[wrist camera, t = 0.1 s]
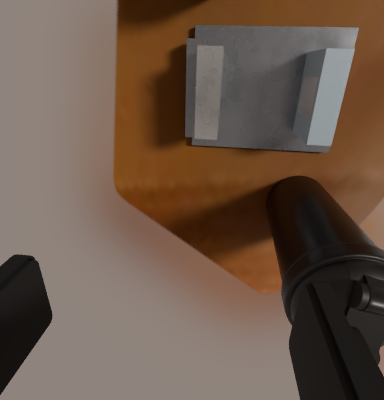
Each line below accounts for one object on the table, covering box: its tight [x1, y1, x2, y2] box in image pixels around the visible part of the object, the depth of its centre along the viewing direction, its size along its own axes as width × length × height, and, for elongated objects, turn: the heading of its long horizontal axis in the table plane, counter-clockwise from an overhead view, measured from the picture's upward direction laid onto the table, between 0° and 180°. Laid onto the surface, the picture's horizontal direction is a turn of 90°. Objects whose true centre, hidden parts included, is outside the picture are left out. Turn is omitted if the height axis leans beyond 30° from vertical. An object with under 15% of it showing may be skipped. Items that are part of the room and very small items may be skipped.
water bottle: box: [266, 176, 384, 365], centre depth 31 cm, size 10×10×23 cm
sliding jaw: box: [293, 48, 355, 146], centre depth 31 cm, size 9×2×7 cm, turn 178°
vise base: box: [185, 25, 359, 153], centre depth 32 cm, size 14×19×8 cm
